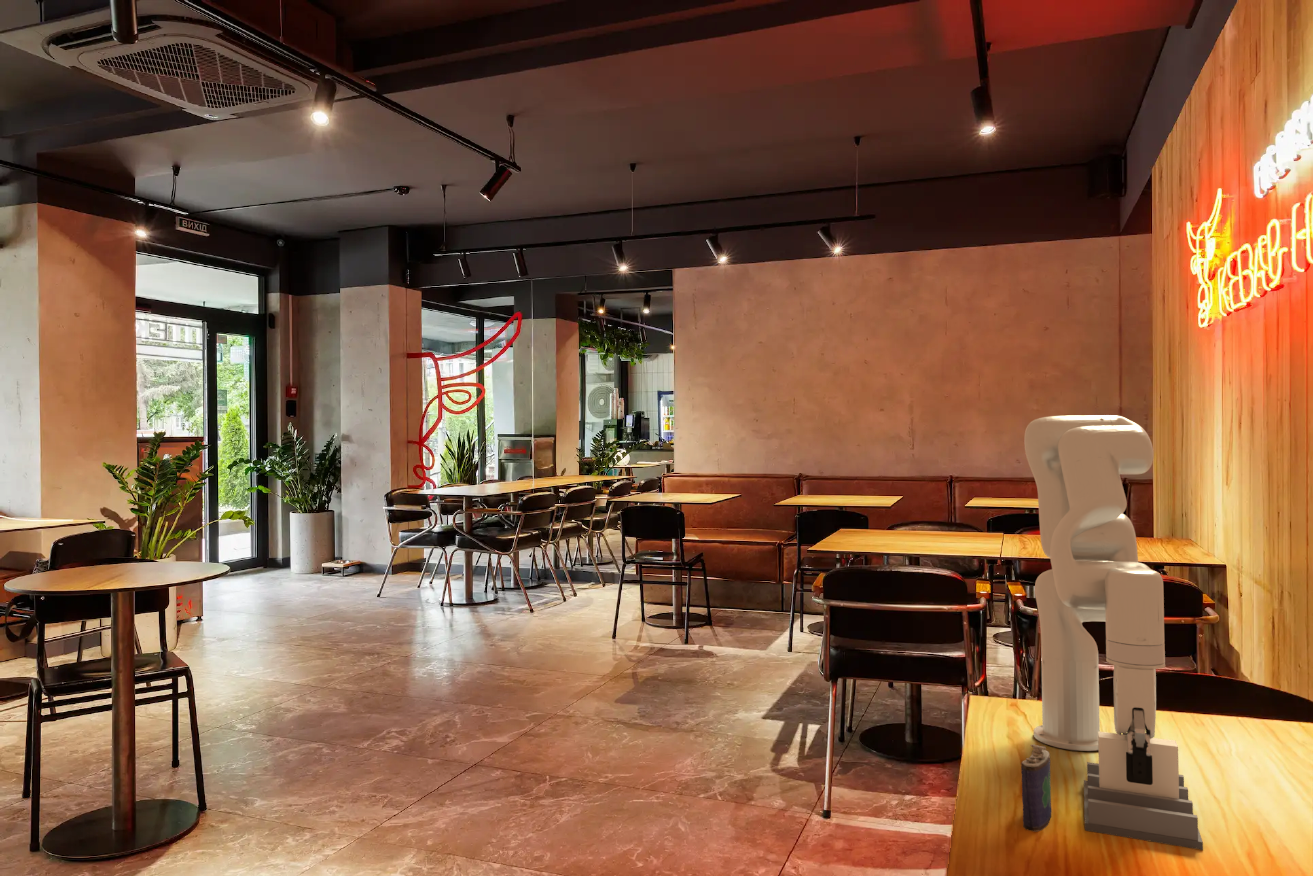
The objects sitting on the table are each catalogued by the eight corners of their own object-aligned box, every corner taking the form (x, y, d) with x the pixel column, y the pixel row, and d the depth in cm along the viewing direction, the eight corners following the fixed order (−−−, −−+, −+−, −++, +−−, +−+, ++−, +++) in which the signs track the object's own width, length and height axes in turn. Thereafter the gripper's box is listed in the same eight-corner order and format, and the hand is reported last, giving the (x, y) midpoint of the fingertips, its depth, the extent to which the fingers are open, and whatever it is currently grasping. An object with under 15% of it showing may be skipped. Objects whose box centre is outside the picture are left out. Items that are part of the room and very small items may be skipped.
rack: (1083, 786, 136) (1083, 761, 136) (1187, 801, 130) (1186, 775, 130) (1084, 830, 120) (1084, 801, 120) (1202, 850, 114) (1202, 819, 114)
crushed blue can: (1035, 807, 128) (1034, 735, 128) (1056, 812, 126) (1055, 738, 126) (1019, 829, 120) (1018, 752, 121) (1042, 834, 119) (1041, 756, 119)
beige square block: (1099, 798, 128) (1098, 731, 129) (1177, 810, 124) (1175, 740, 124) (1100, 806, 126) (1098, 737, 126) (1179, 818, 121) (1178, 746, 122)
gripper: (1104, 640, 135) (1106, 750, 134) (1108, 663, 119) (1110, 787, 119) (1159, 644, 131) (1161, 757, 131) (1170, 668, 116) (1173, 796, 115)
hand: (1137, 771), depth 125 cm, fingers open, 9 cm apart
